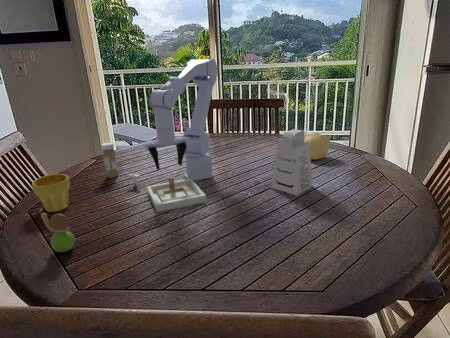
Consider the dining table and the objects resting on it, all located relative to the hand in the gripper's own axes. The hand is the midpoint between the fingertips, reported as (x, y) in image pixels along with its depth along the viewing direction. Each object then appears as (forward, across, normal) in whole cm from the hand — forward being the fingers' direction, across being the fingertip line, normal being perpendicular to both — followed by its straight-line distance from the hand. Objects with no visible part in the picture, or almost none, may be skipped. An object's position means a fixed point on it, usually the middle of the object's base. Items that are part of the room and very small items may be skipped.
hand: (169, 166), depth 114 cm
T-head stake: (+9, -11, +11) cm, 18 cm away
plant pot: (+10, -37, +5) cm, 38 cm away
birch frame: (+9, 0, -5) cm, 10 cm away
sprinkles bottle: (+10, -18, +26) cm, 33 cm away
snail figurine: (+10, -34, -23) cm, 42 cm away
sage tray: (+9, 0, -5) cm, 11 cm away
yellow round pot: (+10, +65, +7) cm, 66 cm away
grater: (+10, +39, -16) cm, 43 cm away
